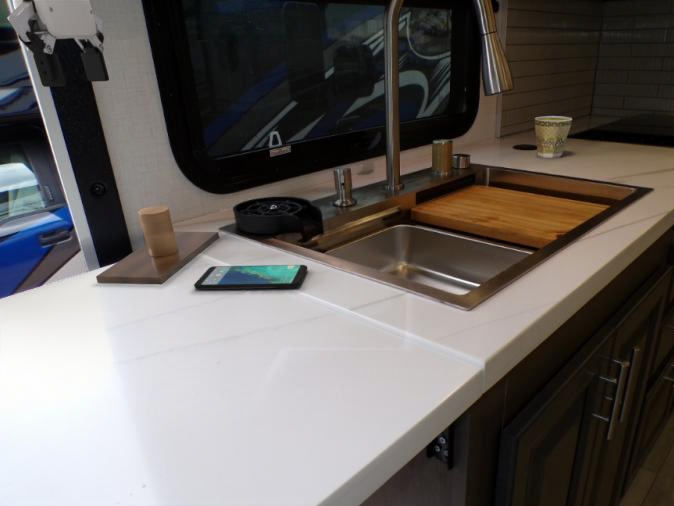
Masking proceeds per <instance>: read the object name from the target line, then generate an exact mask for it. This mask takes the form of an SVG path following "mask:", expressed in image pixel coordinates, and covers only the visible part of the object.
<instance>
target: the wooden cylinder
mask: <svg viewBox="0 0 674 506" xmlns="http://www.w3.org/2000/svg"><path fill="white" fill-rule="evenodd" d="M137 213H138V218H139V221H140V225H141V230H142V234H143V237H144V241H145V244H146V245H147V249H148V253H149V255H150V256H153V257H162V256H167V255H171V254H174V253H175V252H177V251H178V247H177V243H176V238H175V234H174V232H175V230H174V225H173V222H172V218H171V213H170V209H169V207H168V206H165V205H153V206H148V207H143V208H142V209H139V210H138V211H137Z"/></svg>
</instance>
